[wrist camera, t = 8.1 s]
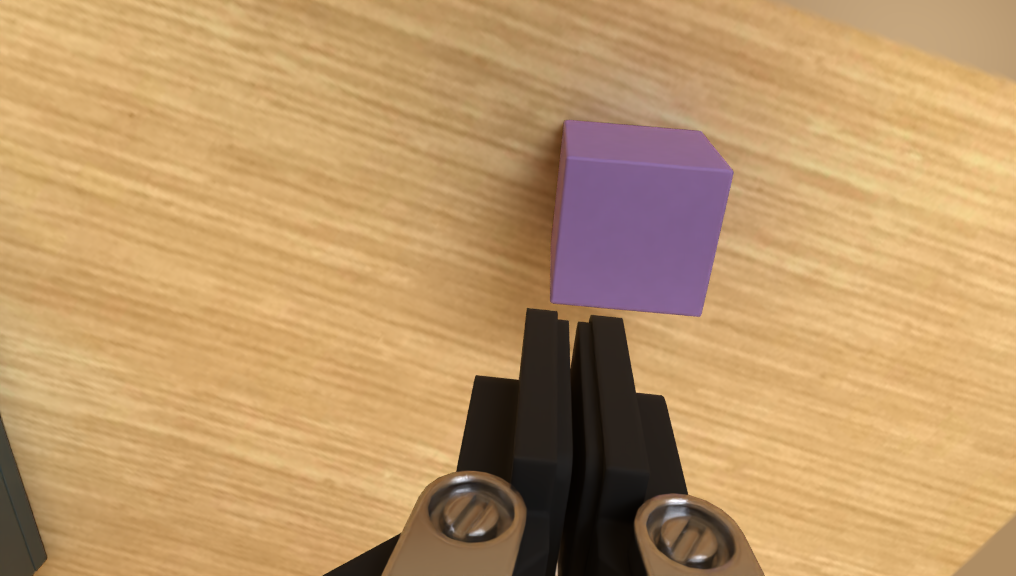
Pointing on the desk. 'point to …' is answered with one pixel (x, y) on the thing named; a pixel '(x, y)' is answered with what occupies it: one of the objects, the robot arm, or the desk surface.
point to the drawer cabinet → (16, 520)
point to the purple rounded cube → (636, 217)
